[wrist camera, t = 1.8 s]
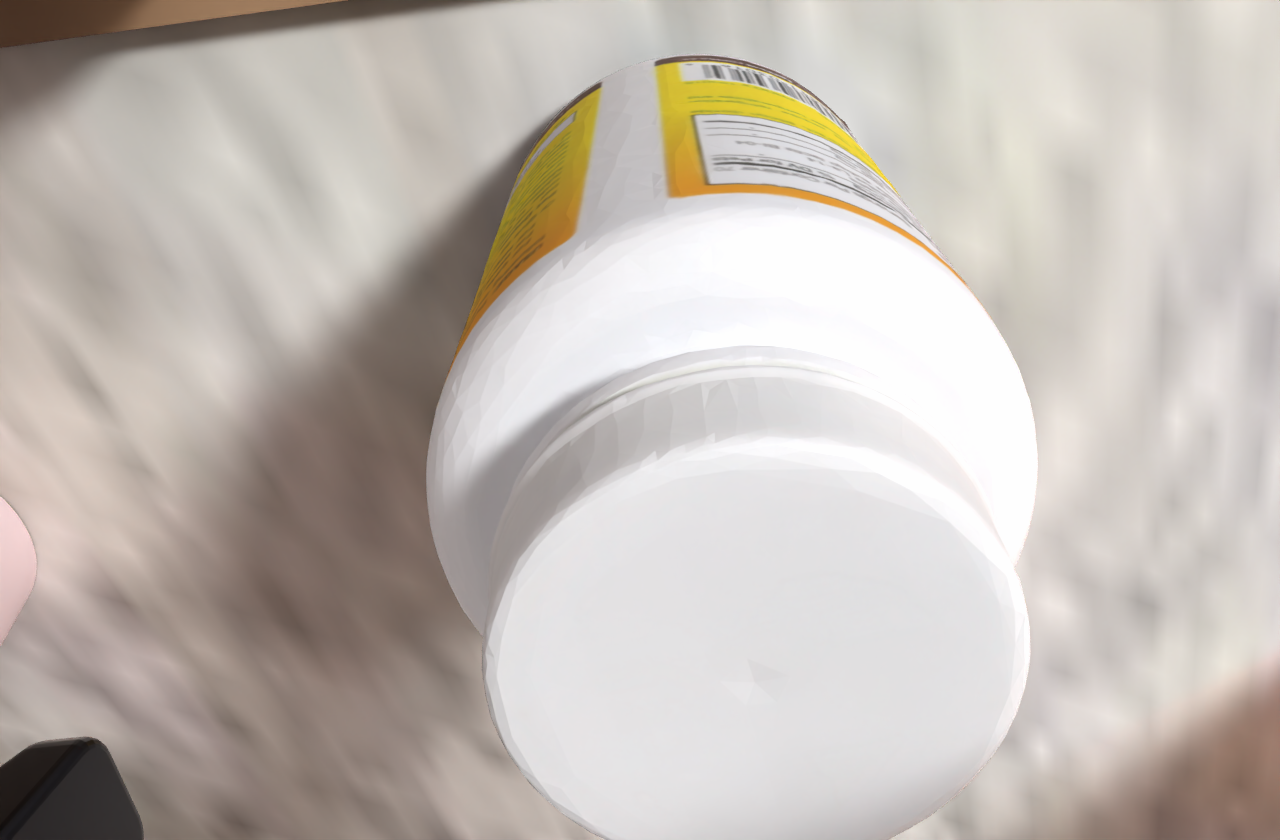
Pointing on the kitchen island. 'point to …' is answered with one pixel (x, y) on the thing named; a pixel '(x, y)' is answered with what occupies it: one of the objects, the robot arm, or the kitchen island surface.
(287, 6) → the caddy
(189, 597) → the kitchen island surface
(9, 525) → the smoothie
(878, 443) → the supplement bottle
